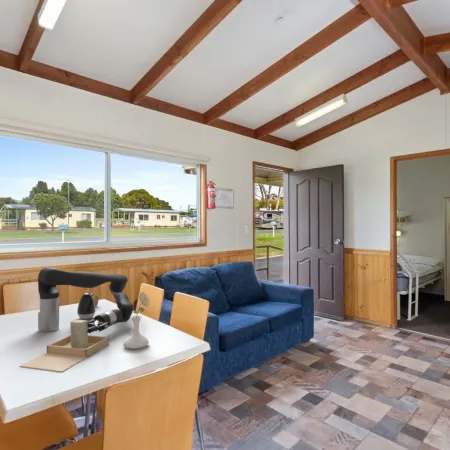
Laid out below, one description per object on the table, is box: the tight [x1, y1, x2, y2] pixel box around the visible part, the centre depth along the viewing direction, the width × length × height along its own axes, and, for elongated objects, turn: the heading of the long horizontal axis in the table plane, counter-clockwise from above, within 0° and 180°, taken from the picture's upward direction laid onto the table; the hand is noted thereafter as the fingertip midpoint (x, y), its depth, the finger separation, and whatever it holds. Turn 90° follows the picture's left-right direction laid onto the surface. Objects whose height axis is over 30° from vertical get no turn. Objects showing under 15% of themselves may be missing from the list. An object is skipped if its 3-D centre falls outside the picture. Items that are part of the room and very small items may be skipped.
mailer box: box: [19, 334, 110, 373], centre depth 143 cm, size 20×30×4 cm, turn 166°
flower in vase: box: [122, 291, 151, 350], centre depth 153 cm, size 13×11×25 cm
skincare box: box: [69, 319, 89, 349], centre depth 150 cm, size 6×4×12 cm
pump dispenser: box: [76, 292, 97, 320], centre depth 199 cm, size 10×10×15 cm
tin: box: [92, 294, 99, 308], centre depth 223 cm, size 15×3×8 cm, turn 168°
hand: (80, 329), depth 151 cm, fingers open, 8 cm apart
